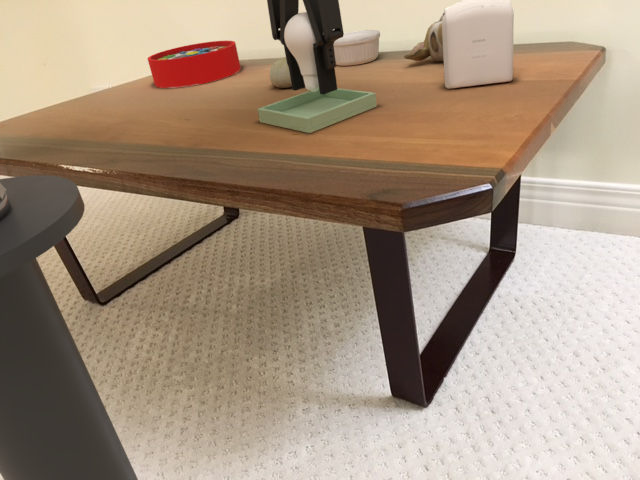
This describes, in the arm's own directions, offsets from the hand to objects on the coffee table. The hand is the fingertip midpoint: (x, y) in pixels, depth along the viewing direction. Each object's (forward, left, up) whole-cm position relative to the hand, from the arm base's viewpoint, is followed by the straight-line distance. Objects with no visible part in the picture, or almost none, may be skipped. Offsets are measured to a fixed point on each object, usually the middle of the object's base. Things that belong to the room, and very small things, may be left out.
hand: (314, 89), depth 80 cm
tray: (0, 0, -4) cm, 4 cm away
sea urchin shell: (+12, +21, -4) cm, 24 cm away
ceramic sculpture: (+35, +3, -4) cm, 35 cm away
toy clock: (+9, +54, -4) cm, 55 cm away
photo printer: (+22, -13, -4) cm, 26 cm away
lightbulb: (0, 0, 0) cm, 0 cm away
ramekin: (+30, +23, -4) cm, 38 cm away
